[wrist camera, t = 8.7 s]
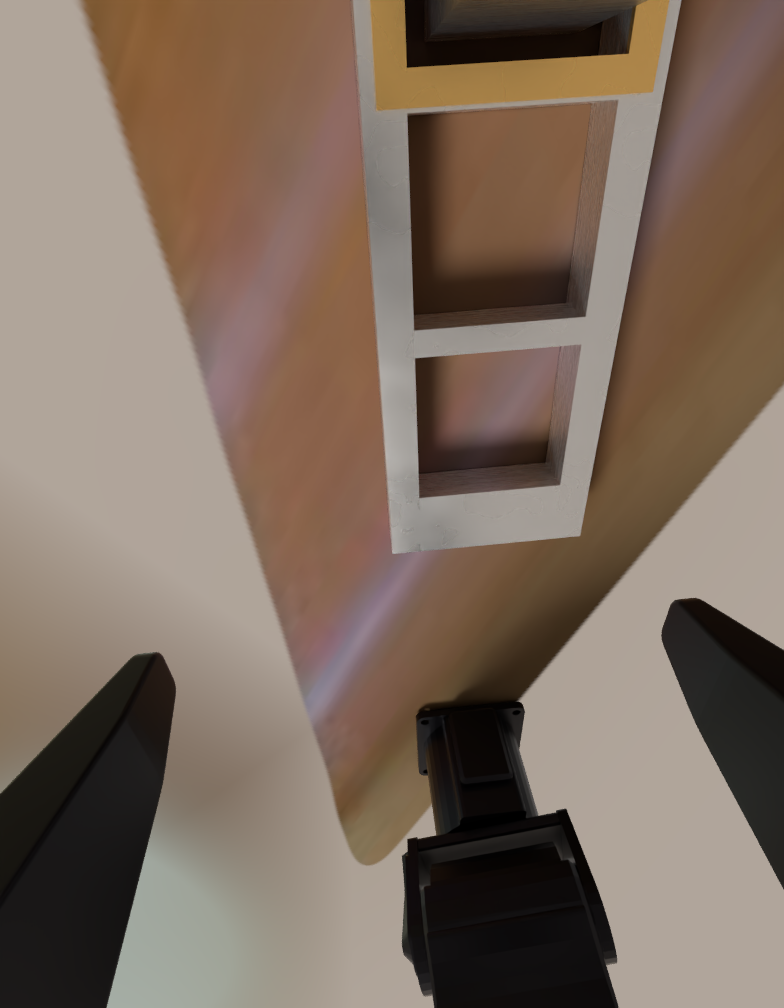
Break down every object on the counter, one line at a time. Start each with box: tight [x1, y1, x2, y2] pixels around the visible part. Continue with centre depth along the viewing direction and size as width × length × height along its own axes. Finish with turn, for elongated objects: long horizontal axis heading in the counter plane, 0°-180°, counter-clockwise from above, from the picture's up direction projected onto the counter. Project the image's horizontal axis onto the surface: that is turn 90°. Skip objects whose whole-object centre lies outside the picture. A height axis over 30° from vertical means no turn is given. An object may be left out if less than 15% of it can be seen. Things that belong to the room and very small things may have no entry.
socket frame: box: [350, 0, 681, 554], centre depth 16 cm, size 24×8×2 cm, turn 3°
